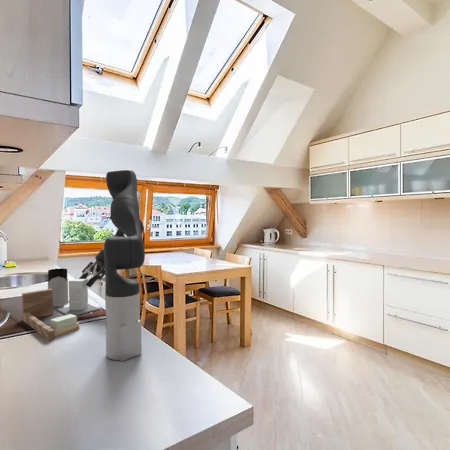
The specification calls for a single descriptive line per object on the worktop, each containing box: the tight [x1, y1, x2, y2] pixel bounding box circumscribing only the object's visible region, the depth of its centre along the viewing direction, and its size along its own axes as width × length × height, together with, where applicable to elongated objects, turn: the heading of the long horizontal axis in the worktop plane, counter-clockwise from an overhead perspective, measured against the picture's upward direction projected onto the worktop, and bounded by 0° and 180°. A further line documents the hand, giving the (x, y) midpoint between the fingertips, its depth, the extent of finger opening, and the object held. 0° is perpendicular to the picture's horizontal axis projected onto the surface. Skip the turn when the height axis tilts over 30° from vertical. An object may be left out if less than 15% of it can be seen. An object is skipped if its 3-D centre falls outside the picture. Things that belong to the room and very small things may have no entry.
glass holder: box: [47, 268, 69, 307], centre depth 141 cm, size 9×14×15 cm, turn 28°
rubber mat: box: [57, 303, 100, 316], centre depth 130 cm, size 12×12×1 cm
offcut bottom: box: [48, 322, 80, 337], centre depth 107 cm, size 5×8×2 cm, turn 140°
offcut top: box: [49, 314, 78, 329], centre depth 107 cm, size 4×7×2 cm, turn 146°
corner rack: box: [21, 288, 55, 342], centre depth 112 cm, size 28×10×10 cm, turn 47°
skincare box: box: [68, 278, 89, 310], centre depth 130 cm, size 6×4×12 cm
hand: (83, 284), depth 131 cm, fingers open, 8 cm apart
